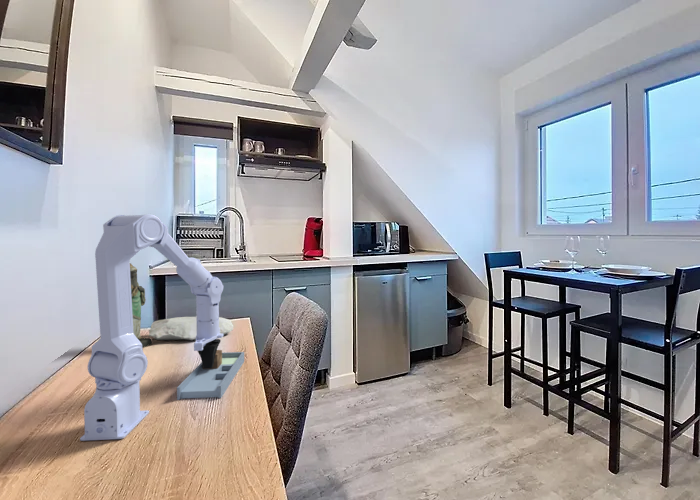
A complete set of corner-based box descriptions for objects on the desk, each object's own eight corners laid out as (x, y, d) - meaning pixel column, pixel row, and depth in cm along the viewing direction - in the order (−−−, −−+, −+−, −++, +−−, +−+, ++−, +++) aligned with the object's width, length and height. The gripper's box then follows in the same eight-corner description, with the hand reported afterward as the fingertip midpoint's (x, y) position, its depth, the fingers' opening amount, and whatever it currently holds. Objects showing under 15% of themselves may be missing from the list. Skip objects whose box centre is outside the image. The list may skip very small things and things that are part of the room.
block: (217, 368, 90) (217, 354, 90) (202, 368, 90) (202, 355, 90) (221, 363, 94) (221, 349, 94) (208, 363, 94) (208, 350, 94)
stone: (152, 311, 129) (230, 307, 143) (152, 330, 130) (230, 324, 143) (146, 328, 111) (236, 322, 124) (145, 350, 111) (236, 341, 125)
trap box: (221, 398, 77) (220, 386, 77) (177, 399, 76) (176, 387, 76) (244, 361, 100) (244, 351, 100) (210, 362, 99) (210, 352, 99)
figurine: (129, 353, 107) (127, 264, 106) (103, 351, 108) (101, 263, 107) (153, 343, 117) (151, 262, 116) (129, 341, 118) (127, 261, 117)
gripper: (213, 326, 81) (214, 378, 82) (230, 312, 96) (230, 357, 96) (185, 326, 81) (186, 379, 81) (205, 313, 95) (206, 357, 96)
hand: (208, 367), depth 89 cm, fingers closed
